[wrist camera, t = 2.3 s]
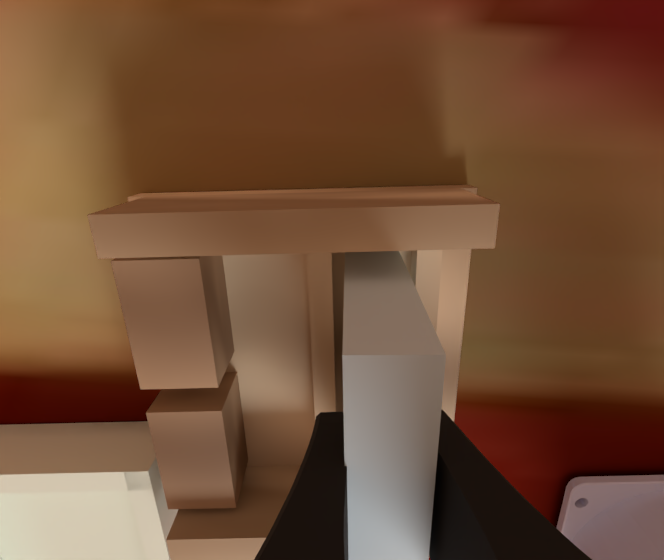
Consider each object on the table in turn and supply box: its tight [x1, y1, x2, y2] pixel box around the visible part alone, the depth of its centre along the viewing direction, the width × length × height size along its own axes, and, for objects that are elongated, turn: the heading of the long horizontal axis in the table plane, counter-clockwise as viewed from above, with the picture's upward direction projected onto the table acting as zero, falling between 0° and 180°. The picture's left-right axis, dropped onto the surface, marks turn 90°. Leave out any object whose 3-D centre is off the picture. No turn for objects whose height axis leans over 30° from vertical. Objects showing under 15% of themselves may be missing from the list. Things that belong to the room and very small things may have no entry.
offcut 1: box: [111, 255, 234, 390], centre depth 11 cm, size 4×2×2 cm, turn 1°
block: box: [342, 251, 446, 560], centre depth 10 cm, size 8×2×6 cm, turn 1°
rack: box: [88, 185, 500, 560], centre depth 12 cm, size 11×10×4 cm
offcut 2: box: [146, 372, 248, 509], centre depth 13 cm, size 4×2×2 cm, turn 1°
